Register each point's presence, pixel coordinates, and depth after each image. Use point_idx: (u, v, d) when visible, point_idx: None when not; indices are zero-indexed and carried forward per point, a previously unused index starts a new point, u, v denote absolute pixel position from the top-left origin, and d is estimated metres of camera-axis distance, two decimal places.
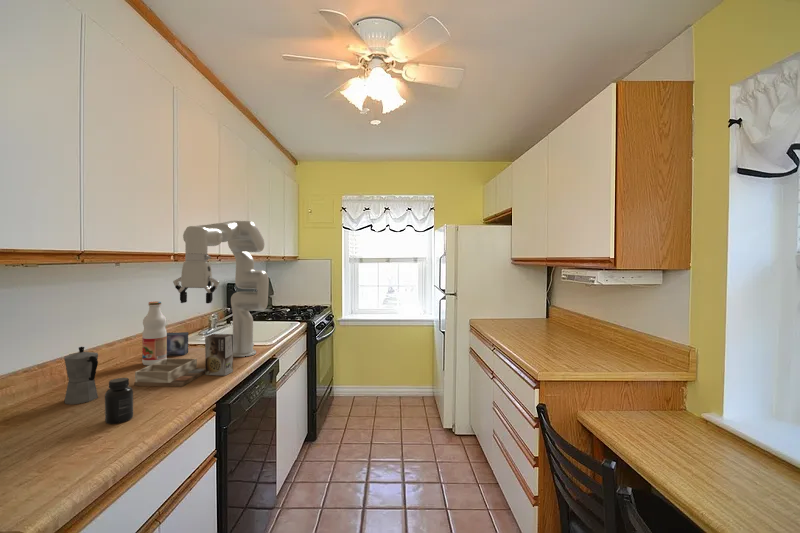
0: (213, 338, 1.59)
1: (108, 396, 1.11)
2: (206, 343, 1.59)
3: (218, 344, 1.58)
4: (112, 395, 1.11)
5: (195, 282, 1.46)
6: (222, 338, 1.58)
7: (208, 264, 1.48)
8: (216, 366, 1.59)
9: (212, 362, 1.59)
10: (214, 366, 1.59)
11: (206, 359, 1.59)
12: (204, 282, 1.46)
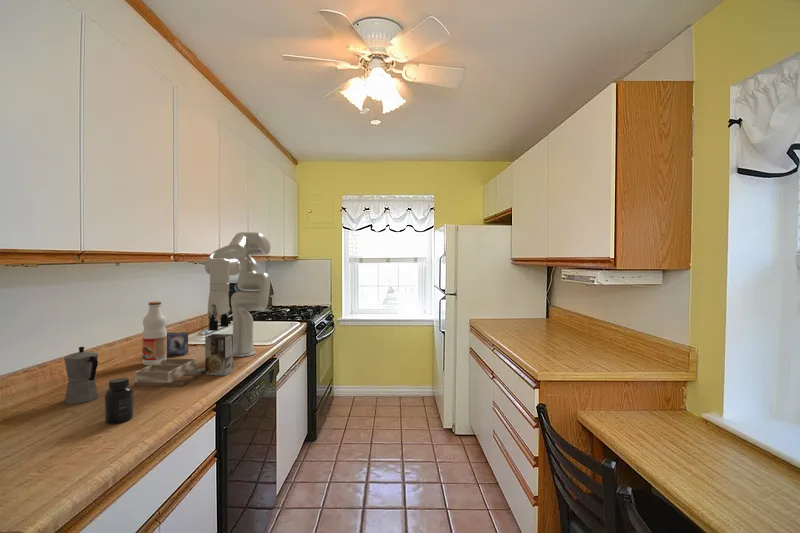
0: (213, 338, 1.59)
1: (108, 396, 1.11)
2: (206, 343, 1.59)
3: (218, 344, 1.58)
4: (112, 395, 1.11)
5: (225, 309, 1.62)
6: (222, 338, 1.58)
7: None
8: (216, 366, 1.59)
9: (212, 362, 1.59)
10: (214, 366, 1.59)
11: (206, 359, 1.59)
12: (228, 308, 1.65)
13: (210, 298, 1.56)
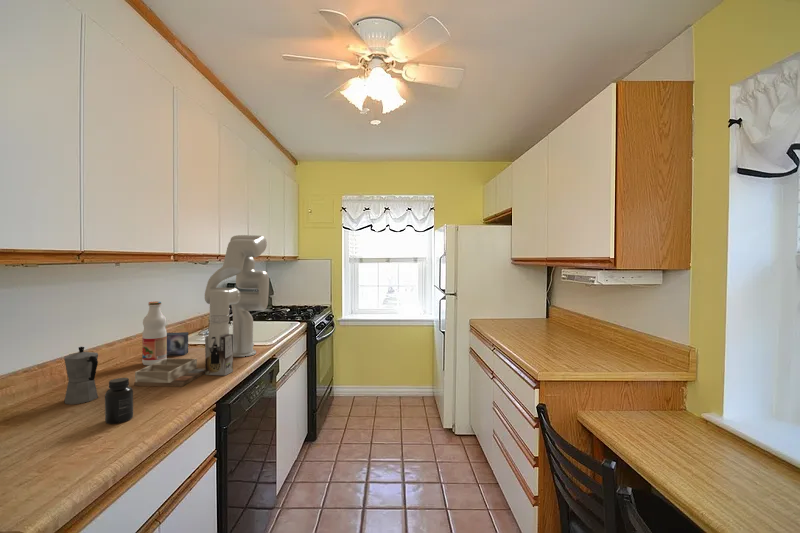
0: None
1: (108, 396, 1.11)
2: (206, 343, 1.59)
3: None
4: (112, 395, 1.11)
5: None
6: (222, 338, 1.58)
7: None
8: (216, 366, 1.59)
9: None
10: (214, 366, 1.59)
11: (206, 359, 1.59)
12: None
13: (210, 330, 1.57)
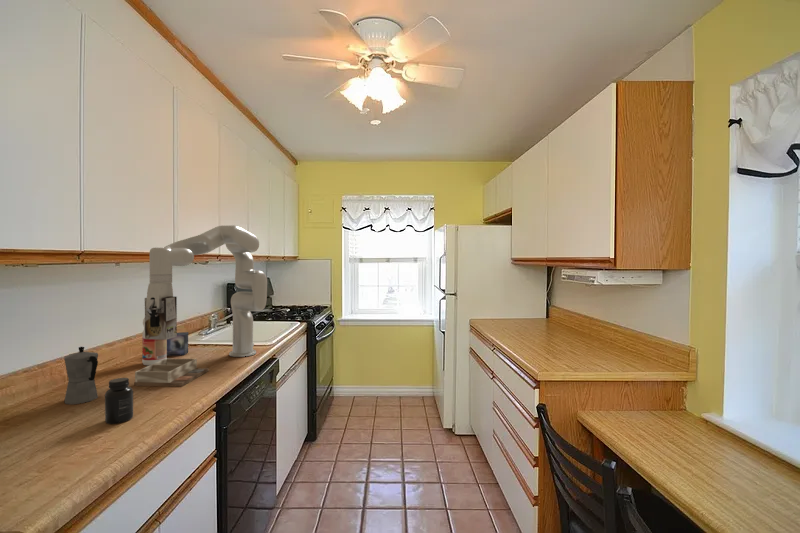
0: None
1: (108, 396, 1.11)
2: (145, 305, 1.47)
3: None
4: (112, 395, 1.11)
5: None
6: (163, 299, 1.46)
7: None
8: (156, 329, 1.47)
9: None
10: (154, 329, 1.47)
11: (146, 322, 1.47)
12: None
13: (149, 290, 1.45)
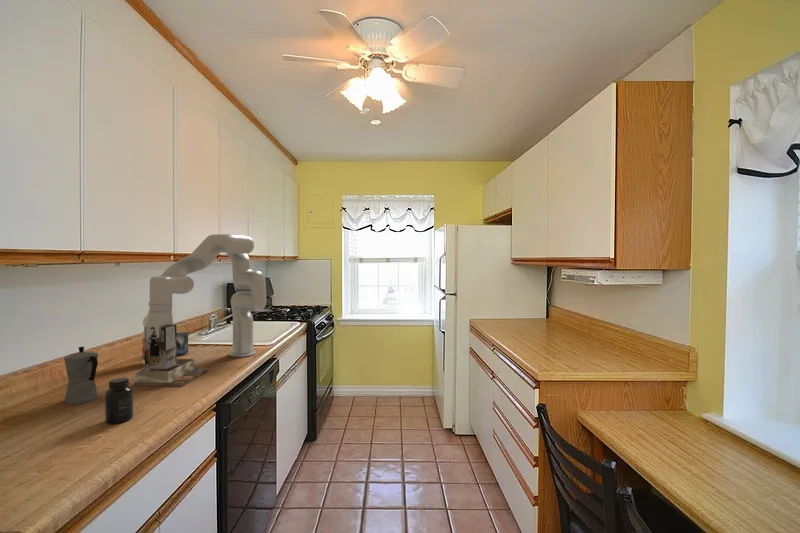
0: None
1: (108, 396, 1.11)
2: (145, 334, 1.47)
3: None
4: (112, 395, 1.11)
5: None
6: (162, 328, 1.46)
7: None
8: (156, 358, 1.47)
9: None
10: (154, 358, 1.47)
11: (145, 351, 1.47)
12: None
13: (149, 320, 1.45)
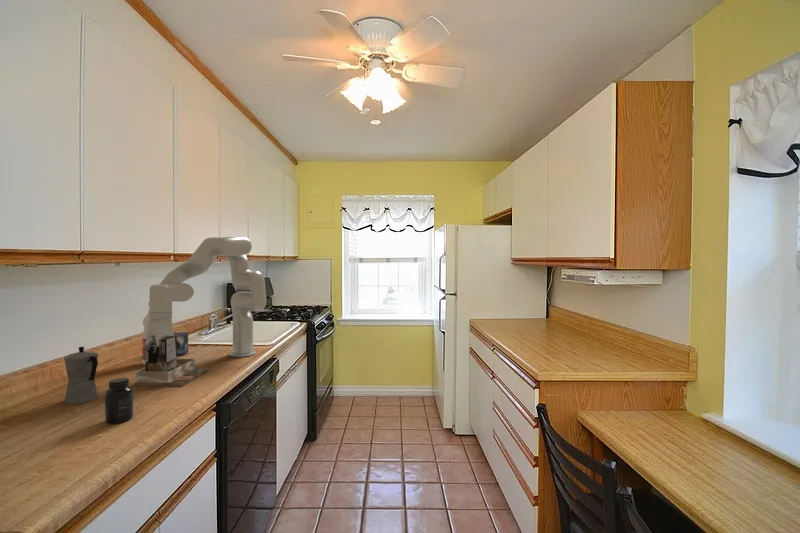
0: None
1: (108, 396, 1.11)
2: None
3: (159, 347, 1.47)
4: (112, 395, 1.11)
5: None
6: (163, 340, 1.47)
7: None
8: (157, 370, 1.47)
9: (153, 366, 1.47)
10: (154, 370, 1.47)
11: (146, 363, 1.47)
12: None
13: (149, 328, 1.45)
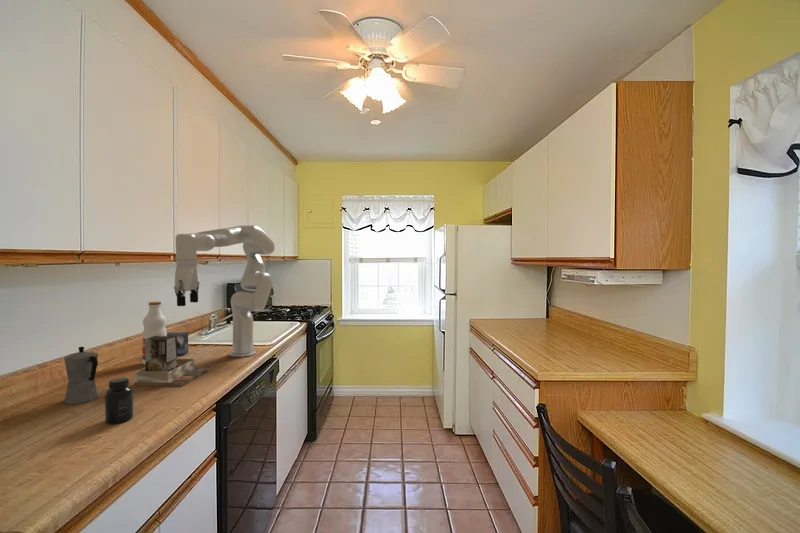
0: (153, 340, 1.47)
1: (108, 396, 1.11)
2: (146, 346, 1.47)
3: (159, 347, 1.47)
4: (112, 395, 1.11)
5: (193, 284, 1.62)
6: (163, 340, 1.47)
7: None
8: (157, 370, 1.47)
9: (153, 366, 1.47)
10: (154, 370, 1.47)
11: (146, 363, 1.47)
12: (197, 284, 1.65)
13: (176, 274, 1.56)
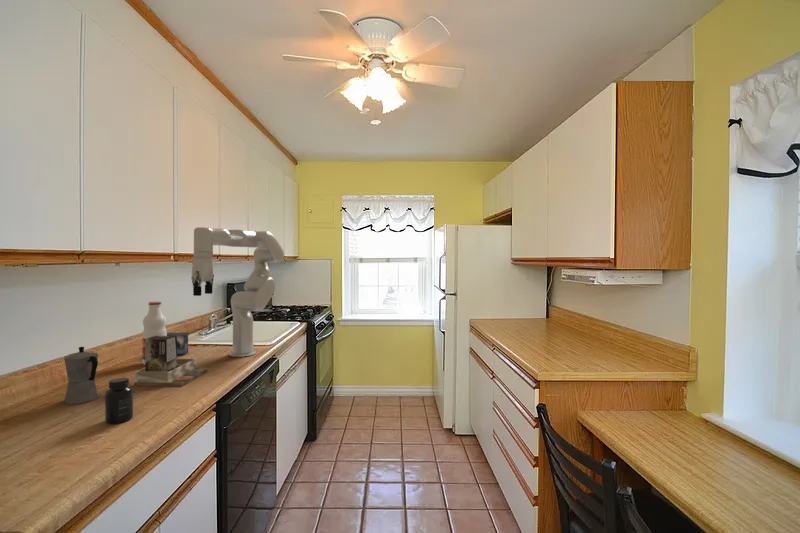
0: (153, 340, 1.47)
1: (108, 396, 1.11)
2: (146, 346, 1.47)
3: (159, 347, 1.47)
4: (112, 395, 1.11)
5: (209, 276, 1.70)
6: (163, 340, 1.47)
7: None
8: (157, 370, 1.47)
9: (153, 366, 1.47)
10: (154, 370, 1.47)
11: (146, 363, 1.47)
12: (212, 275, 1.73)
13: (194, 265, 1.64)
